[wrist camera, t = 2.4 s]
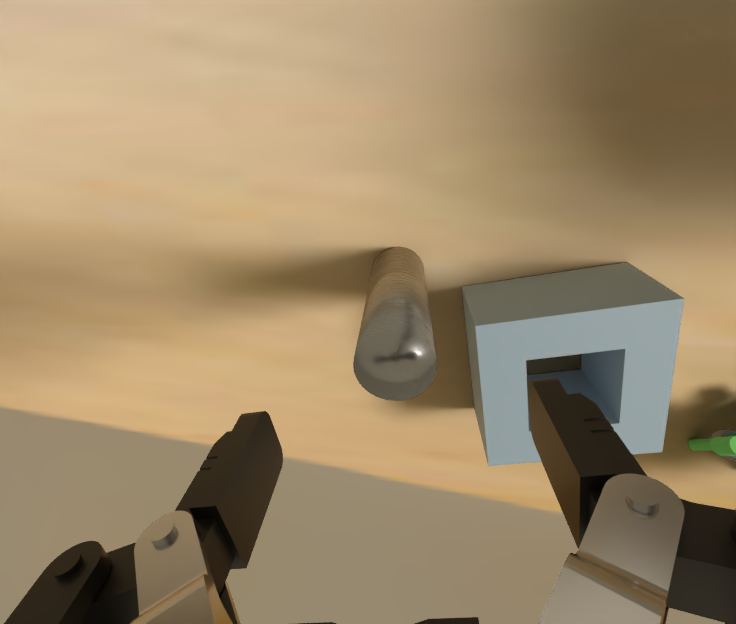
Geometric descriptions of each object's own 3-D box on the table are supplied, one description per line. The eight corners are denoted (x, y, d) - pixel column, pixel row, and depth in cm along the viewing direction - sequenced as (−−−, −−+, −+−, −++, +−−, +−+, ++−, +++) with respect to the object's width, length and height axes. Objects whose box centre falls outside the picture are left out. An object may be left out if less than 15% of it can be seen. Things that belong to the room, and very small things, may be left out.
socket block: (461, 286, 24) (475, 326, 19) (627, 262, 22) (684, 298, 18) (474, 408, 27) (488, 465, 23) (617, 394, 26) (662, 452, 21)
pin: (368, 251, 23) (345, 336, 14) (420, 242, 23) (431, 324, 14) (377, 298, 24) (362, 404, 15) (427, 291, 24) (441, 395, 15)
